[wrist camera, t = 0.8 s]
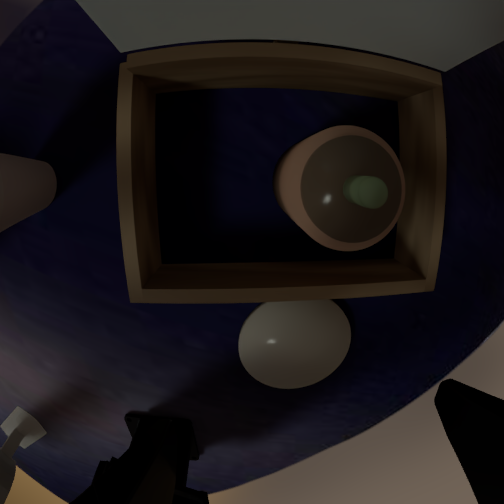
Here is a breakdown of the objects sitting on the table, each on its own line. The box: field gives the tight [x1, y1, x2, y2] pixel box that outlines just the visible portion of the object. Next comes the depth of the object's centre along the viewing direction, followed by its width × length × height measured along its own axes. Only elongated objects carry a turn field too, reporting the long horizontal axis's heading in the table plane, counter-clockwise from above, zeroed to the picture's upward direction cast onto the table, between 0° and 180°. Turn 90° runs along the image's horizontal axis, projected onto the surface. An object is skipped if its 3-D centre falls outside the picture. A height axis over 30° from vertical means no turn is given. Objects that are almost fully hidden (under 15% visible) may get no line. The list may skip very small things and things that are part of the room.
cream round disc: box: [239, 299, 351, 389], centre depth 21 cm, size 8×8×1 cm
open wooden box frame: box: [116, 40, 447, 303], centre depth 12 cm, size 16×18×12 cm
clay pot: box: [272, 125, 405, 251], centre depth 14 cm, size 6×6×9 cm
